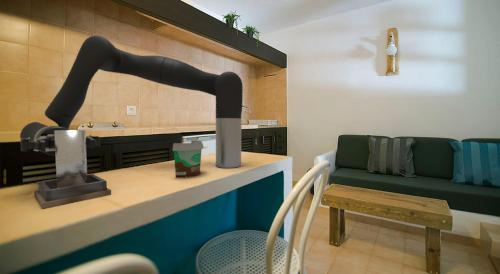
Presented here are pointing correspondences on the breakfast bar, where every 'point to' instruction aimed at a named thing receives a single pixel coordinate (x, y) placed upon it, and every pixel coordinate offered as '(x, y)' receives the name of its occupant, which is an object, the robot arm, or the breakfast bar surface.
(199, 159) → the food container
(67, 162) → the silver tall shiny block
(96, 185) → the holder
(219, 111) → the robot arm
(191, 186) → the breakfast bar surface
